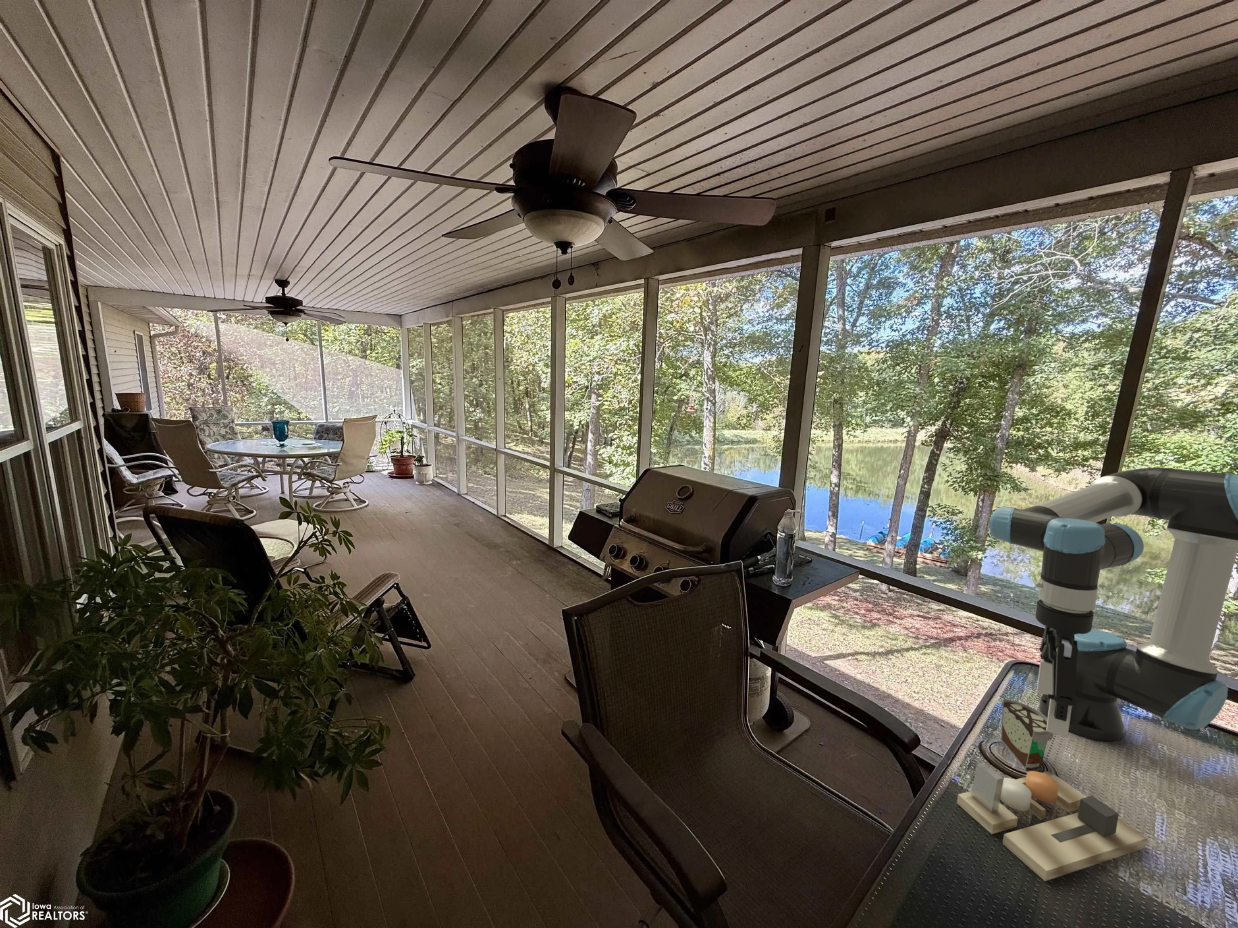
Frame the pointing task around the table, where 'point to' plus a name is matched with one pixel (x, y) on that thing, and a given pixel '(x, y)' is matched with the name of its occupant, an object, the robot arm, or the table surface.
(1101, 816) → the slider knob
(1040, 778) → the brown egg
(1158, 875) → the table surface
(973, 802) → the beige flat pieces
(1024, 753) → the food container
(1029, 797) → the white egg
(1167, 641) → the robot arm
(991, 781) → the toggle lever
